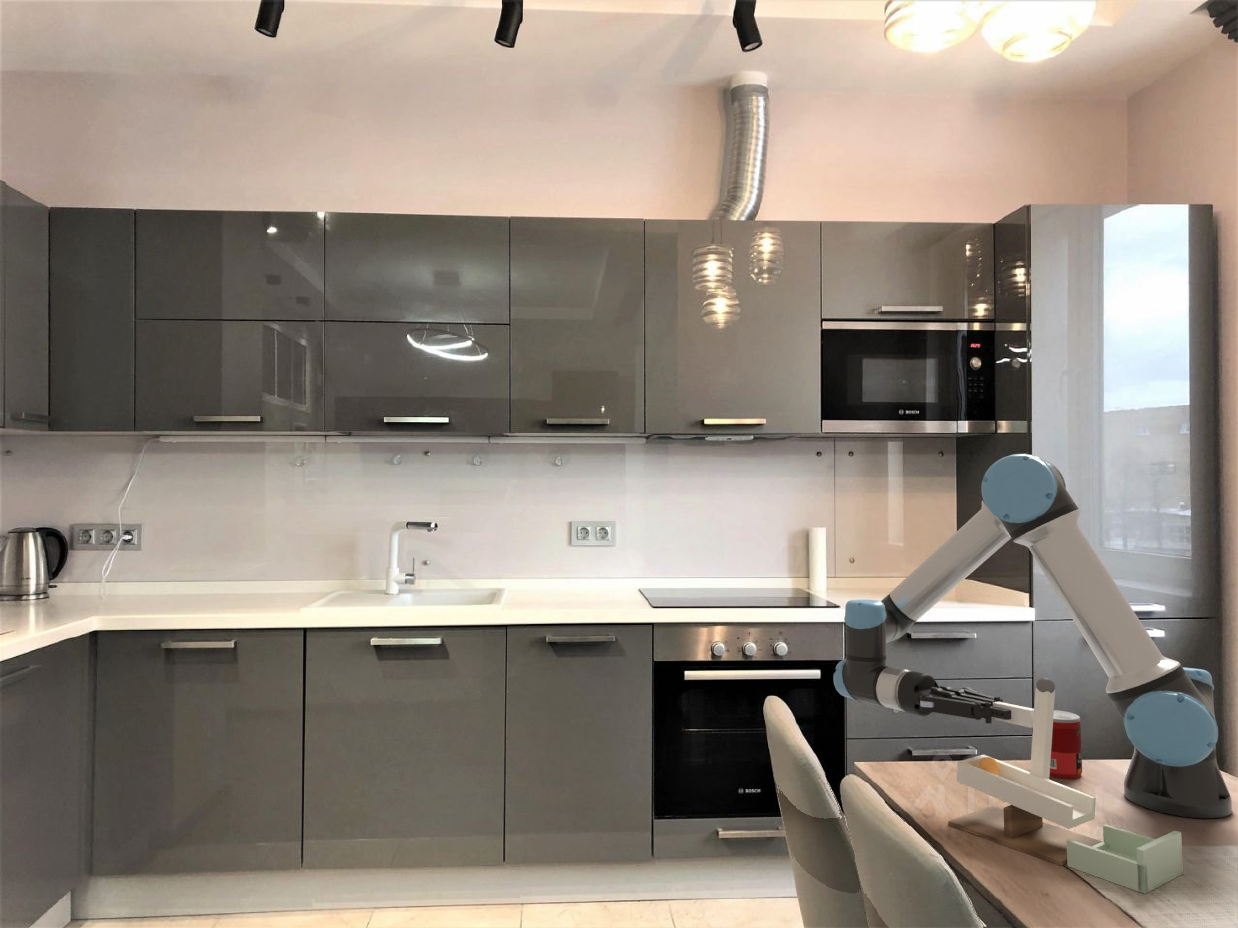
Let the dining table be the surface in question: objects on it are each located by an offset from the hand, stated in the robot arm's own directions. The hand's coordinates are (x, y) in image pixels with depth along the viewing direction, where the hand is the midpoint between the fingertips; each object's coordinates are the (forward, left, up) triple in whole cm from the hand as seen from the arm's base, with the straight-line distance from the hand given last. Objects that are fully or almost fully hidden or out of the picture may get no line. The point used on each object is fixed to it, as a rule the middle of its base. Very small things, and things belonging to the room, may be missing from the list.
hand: (1033, 718), depth 128 cm
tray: (-7, +14, -17) cm, 23 cm away
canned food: (-13, -30, -17) cm, 37 cm away
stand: (+3, +3, -17) cm, 18 cm away
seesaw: (+2, +2, -12) cm, 12 cm away
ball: (+7, -1, -8) cm, 11 cm away
